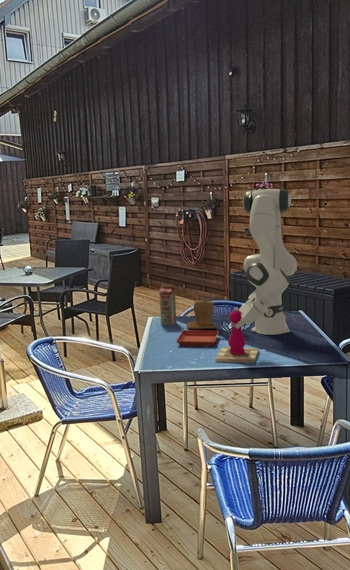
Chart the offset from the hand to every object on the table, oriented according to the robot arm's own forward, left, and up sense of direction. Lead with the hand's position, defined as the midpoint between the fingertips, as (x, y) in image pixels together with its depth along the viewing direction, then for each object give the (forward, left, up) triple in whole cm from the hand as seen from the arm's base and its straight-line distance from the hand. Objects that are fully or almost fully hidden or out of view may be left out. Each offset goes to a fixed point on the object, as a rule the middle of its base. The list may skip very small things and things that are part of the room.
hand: (235, 325), depth 217 cm
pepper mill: (0, +1, -12) cm, 12 cm away
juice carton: (-51, -45, -14) cm, 70 cm away
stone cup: (-44, -25, -14) cm, 53 cm away
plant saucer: (-20, -21, -15) cm, 33 cm away
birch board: (0, +1, -14) cm, 14 cm away
